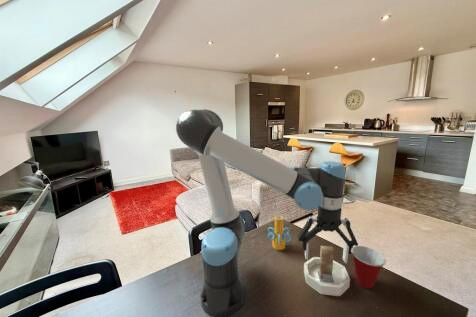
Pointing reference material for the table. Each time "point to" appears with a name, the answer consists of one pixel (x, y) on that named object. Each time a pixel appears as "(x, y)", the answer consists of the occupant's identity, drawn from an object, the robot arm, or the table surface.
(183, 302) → the table surface
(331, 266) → the long cardboard-colored beam
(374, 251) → the plastic cup
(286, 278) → the table surface
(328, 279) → the white octagonal tray
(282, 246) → the yellow blue ringed piece
